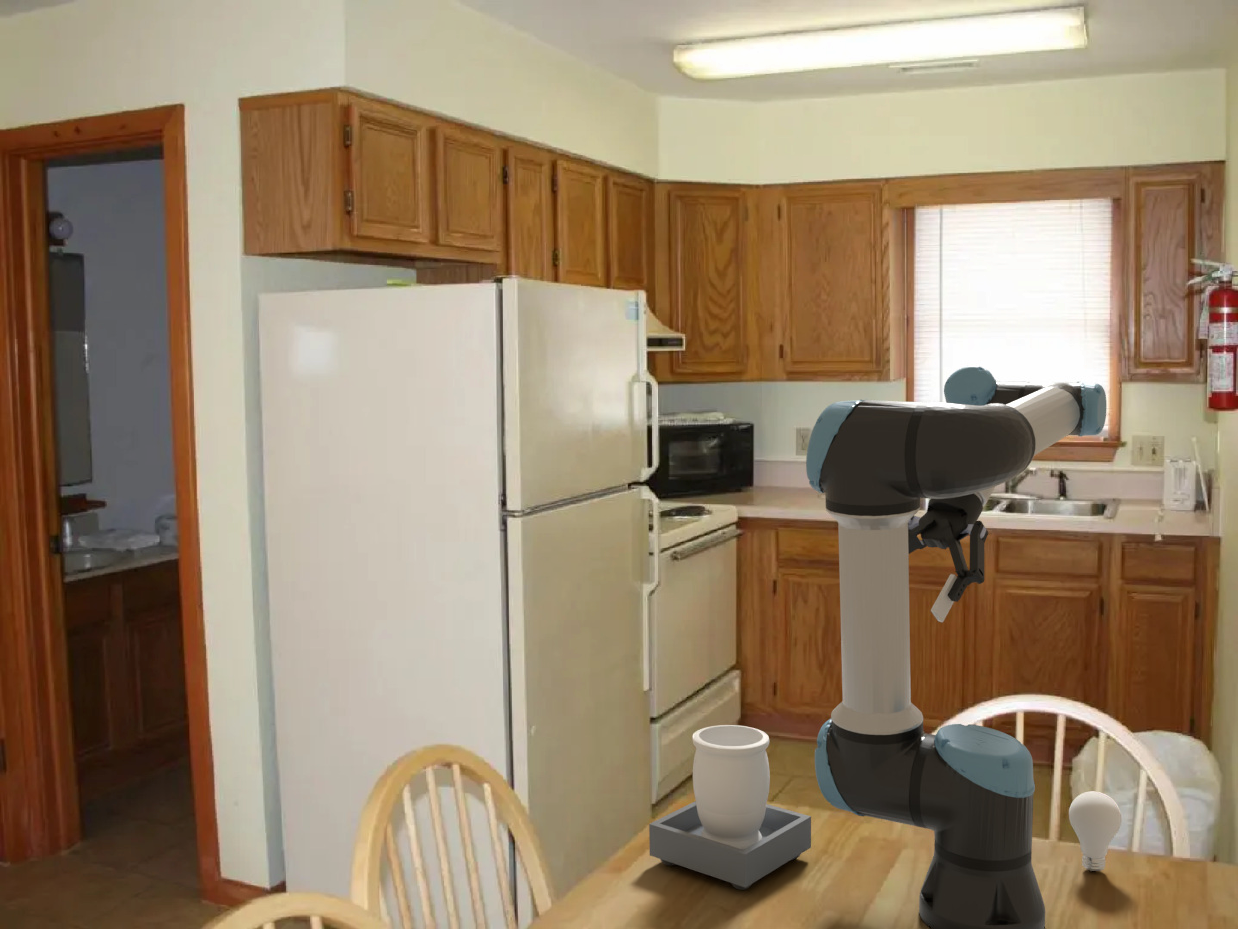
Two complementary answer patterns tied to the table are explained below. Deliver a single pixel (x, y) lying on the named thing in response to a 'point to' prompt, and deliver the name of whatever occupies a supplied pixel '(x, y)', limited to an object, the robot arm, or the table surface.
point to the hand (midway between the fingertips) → (897, 608)
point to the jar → (731, 783)
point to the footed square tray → (685, 846)
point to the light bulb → (1094, 826)
